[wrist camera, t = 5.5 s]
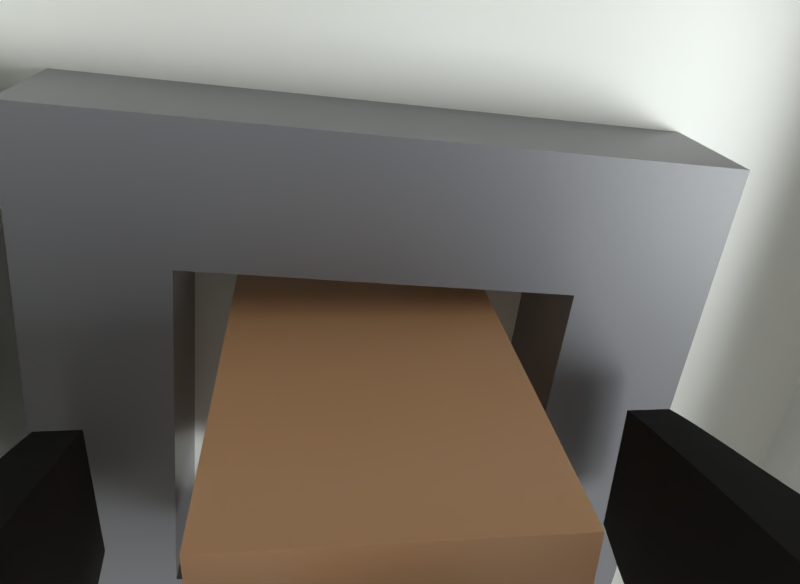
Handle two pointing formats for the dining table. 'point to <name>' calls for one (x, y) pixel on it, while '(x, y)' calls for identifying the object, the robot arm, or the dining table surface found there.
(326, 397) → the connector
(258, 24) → the walled box
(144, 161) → the inlet socket
